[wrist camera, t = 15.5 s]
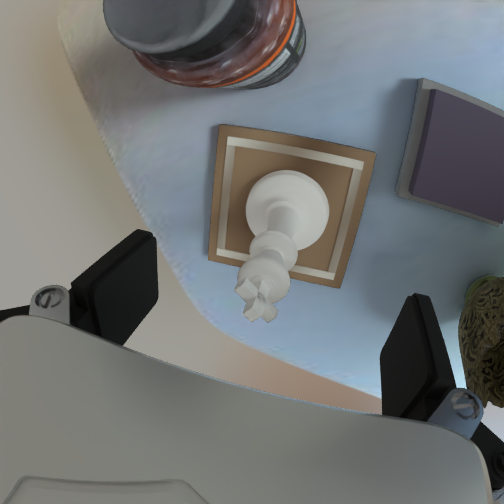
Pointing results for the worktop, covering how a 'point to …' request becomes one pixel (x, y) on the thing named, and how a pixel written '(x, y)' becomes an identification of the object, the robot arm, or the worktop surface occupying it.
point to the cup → (484, 339)
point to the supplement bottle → (211, 39)
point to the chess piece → (278, 237)
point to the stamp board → (296, 159)
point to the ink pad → (454, 154)
